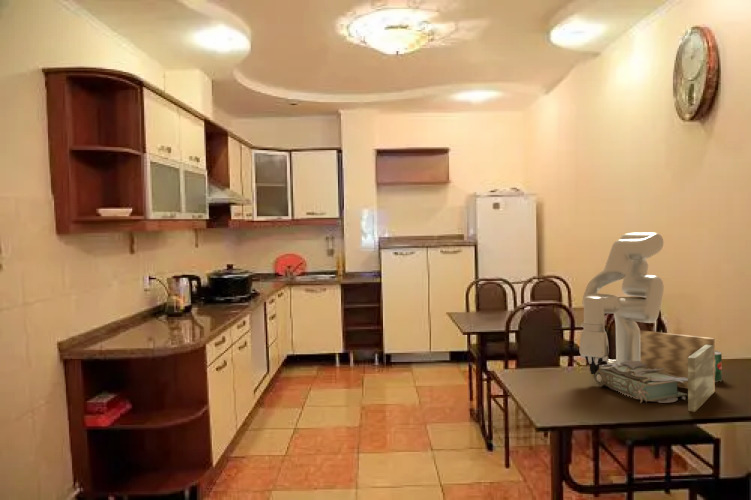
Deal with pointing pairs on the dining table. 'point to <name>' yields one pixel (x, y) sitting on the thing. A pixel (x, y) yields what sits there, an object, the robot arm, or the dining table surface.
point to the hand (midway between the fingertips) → (594, 373)
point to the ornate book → (640, 382)
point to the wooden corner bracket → (682, 361)
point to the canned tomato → (718, 366)
